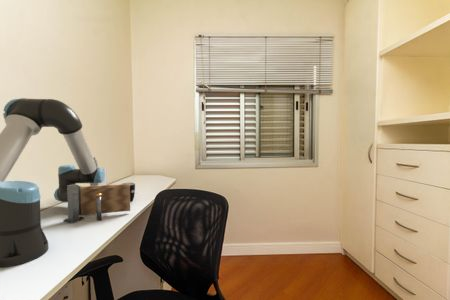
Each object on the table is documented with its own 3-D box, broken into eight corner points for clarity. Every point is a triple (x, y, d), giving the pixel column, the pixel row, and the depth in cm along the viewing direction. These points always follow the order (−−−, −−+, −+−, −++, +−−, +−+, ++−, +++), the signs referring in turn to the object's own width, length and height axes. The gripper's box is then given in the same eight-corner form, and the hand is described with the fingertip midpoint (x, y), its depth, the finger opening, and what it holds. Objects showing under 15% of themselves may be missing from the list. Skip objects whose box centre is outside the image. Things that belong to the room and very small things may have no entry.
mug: (132, 203, 137) (132, 185, 137) (116, 203, 136) (115, 185, 136) (138, 197, 149) (138, 181, 149) (123, 198, 148) (122, 181, 148)
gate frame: (87, 225, 104) (86, 188, 103) (63, 221, 108) (62, 185, 107) (103, 219, 112) (102, 184, 110) (79, 215, 116) (78, 182, 115)
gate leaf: (76, 215, 111) (75, 186, 110) (77, 214, 113) (76, 185, 112) (130, 210, 119) (129, 183, 118) (130, 209, 121) (129, 182, 120)
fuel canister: (97, 199, 145) (96, 157, 143) (88, 199, 145) (87, 157, 143) (107, 193, 160) (106, 155, 159) (99, 193, 160) (98, 155, 158)
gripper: (92, 200, 133) (128, 204, 125) (70, 207, 121) (108, 212, 113) (91, 186, 132) (127, 190, 125) (69, 192, 120) (108, 196, 113)
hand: (118, 200), depth 119 cm, fingers closed
